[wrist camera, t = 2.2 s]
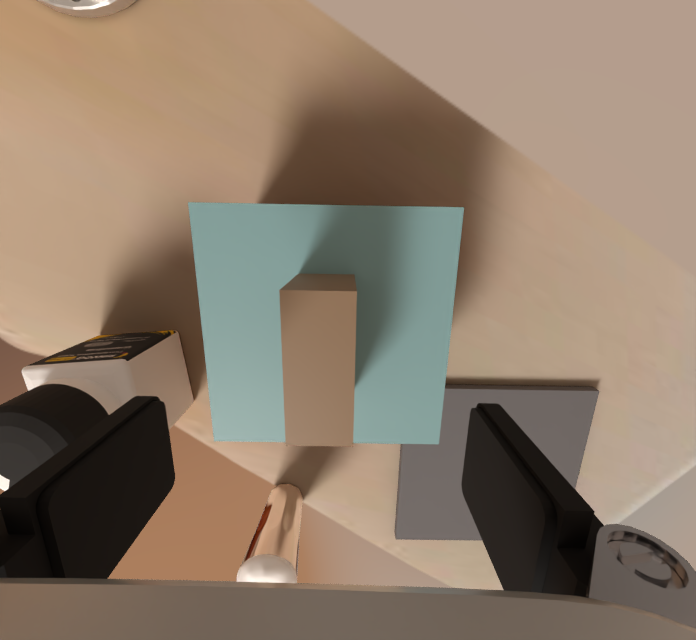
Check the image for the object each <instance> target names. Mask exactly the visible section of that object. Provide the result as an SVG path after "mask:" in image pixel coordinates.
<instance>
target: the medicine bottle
mask: <svg viewBox="0 0 696 640" xmlns="http://www.w3.org/2000/svg"><path fill="white" fill-rule="evenodd" d="M22 375H23V377H24V380H25V383H26V385H27V388H28V391H27V392H25V393H24V394H21V395H19V396H18V397H15V398H13V399H12V400H9V401H8V402H6V403H3V404H1V405H0V489H2V490H4V491H6V490H7V489H9V488H10V487H11V486H13V485H14V484H15V483H17V482H18V481H20V480H21V479H22V478H24V477H25V476H26V475H28V474H29V473H31V472H32V471H33V470H35V469H36V468H37V467H39V466H40V465H41V464H43V463H44V462H46V461H47V460H48V459H50V458H51V457H52V456H54V455H55V454H57V453H58V452H59V451H61V450H62V449H63V448H65V447H66V446H67V445H69V444H70V443H72V442H73V441H74V440H76V439H77V438H78V437H80V436H81V435H83V434H84V433H85V432H87V431H88V430H89V429H91V428H92V427H93V426H95V425H96V424H98V423H99V422H100V421H102V420H103V419H104V418H106V417H107V416H109V415H110V414H111V413H113V412H114V411H115V410H117V409H118V408H119V407H121V406H122V405H124V404H125V403H126V402H128V401H129V400H130V399H132V398H133V397H135V396H157V397H159V399H160V401H163V402H164V403H165V407H166V414H167V421H168V428H169V429H170V428H171V427H172V426H173V425H174V424H175V423H176V422H177V420H178V419H179V418H180V417H181V416H182V415H183V414H184V413H185V412H186V410H187V409H188V408H189V407H190V406H191V405H192V404H193V402H194V399H193V395H192V390H191V386H190V381H189V377H188V373H187V368H186V364H185V359H184V355H183V351H182V346H181V342H180V337H179V333H178V332H177V331H176V330H169V331H155V332H141V333H128V334H114V335H101V336H97V337H94V338H92V339H90V340H87V341H85V342H82V343H80V344H78V345H75V346H73V347H71V348H68V349H66V350H63V351H61V352H59V353H56V354H54V355H52V356H49V357H47V358H44V359H42V360H40V361H38V362H35V363H33V364H30V365H28V366H25V367H24V368H23V369H22Z"/></svg>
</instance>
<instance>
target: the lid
mask: <svg viewBox="0 0 696 640" xmlns="http://www.w3.org/2000/svg"><path fill="white" fill-rule="evenodd" d="M188 206H189V215H190V224H191V233H192V242H193V252H194V261H195V270H196V279H197V288H198V298H199V307H200V316H201V325H202V334H203V343H204V353H205V362H206V371H207V380H208V389H209V398H210V408H211V417H212V426H213V435H214V441H243V442H286V446H345V447H353V443H381V444H439V438H440V428H441V419H442V410H443V400H444V391H445V382H446V372H447V363H448V354H449V344H450V335H451V325H452V316H453V307H454V297H455V288H456V279H457V269H458V260H459V251H460V241H461V232H462V223H463V213H464V207H419V206H362V205H306V204H250V203H194V202H188Z"/></svg>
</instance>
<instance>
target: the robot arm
mask: <svg viewBox="0 0 696 640" xmlns="http://www.w3.org/2000/svg"><path fill="white" fill-rule="evenodd" d="M37 1H38V2H40V3H42V4H44V5H46V6H48V7H50V8H52V9H54V10H55V11H58V12H61V13H65V14H68V15H71V16H75V17H88V18H96V17H102V16H108V15H112V14H114V13H117V12H119V11H121V10H124V9H126V8H127V7H129V6H130V5H131V4H133V3H134V2H135V1H137V0H37ZM174 481H175V472H174V465H173V458H172V451H171V443H170V436H169V428H168V421H167V414H166V407H165V403H164V402H163V401H160V399H159V397H157V396H135V397H133V398H132V399H130V400H129V401H128V402H126V403H125V404H124V405H122V406H121V407H119V408H118V409H117V410H115V411H114V412H113V413H111V414H110V415H109V416H107V417H106V418H104V419H103V420H102V421H100V422H99V423H98V424H96V425H95V426H93V427H92V428H91V429H89V430H88V431H87V432H85V433H84V434H83V435H81V436H80V437H78V438H77V439H76V440H74V441H73V442H72V443H70V444H69V445H67V446H66V447H65V448H63V449H62V450H61V451H59V452H58V453H57V454H55V455H54V456H52V457H51V458H50V459H48V460H47V461H46V462H44V463H43V464H41V465H40V466H39V467H37V468H36V469H35V470H33V471H32V472H31V473H29V474H28V475H26V476H25V477H24V478H22V479H21V480H20V481H18V482H17V483H15V484H14V485H13V486H11V487H10V488H9V489H7V490H6V491H5V492H3V493H2V494H0V640H696V571H695V570H694V569H693V568H692V566H691V565H690V564H689V563H688V561H687V560H685V559H684V558H683V557H682V556H681V555H680V554H679V553H678V552H677V551H675V550H674V549H673V548H671V547H670V546H668V545H667V544H665V543H664V542H663V541H661V540H660V539H657V538H656V537H654V536H652V535H650V534H648V533H646V532H644V531H641V530H638V529H636V528H633V527H630V526H625V525H620V524H609V525H605V526H604V525H603V524H602V523H601V522H600V521H599V519H598V518H597V517H596V516H595V515H594V510H593V509H592V508H591V507H590V506H589V505H588V504H587V503H586V501H585V500H584V499H583V498H582V497H581V496H580V495H579V494H578V492H577V491H576V490H575V489H574V488H573V487H572V486H571V484H570V483H569V482H568V481H567V480H566V479H565V478H564V477H563V475H562V474H561V473H560V472H559V471H558V470H557V469H556V468H555V466H554V465H553V464H552V463H551V462H550V461H549V460H548V458H547V457H546V456H545V455H544V454H543V453H542V452H541V451H540V449H539V448H538V447H537V446H536V445H535V444H534V443H533V441H532V440H531V439H530V438H529V437H528V436H527V435H526V434H525V432H524V431H523V430H522V429H521V428H520V427H519V426H518V425H517V423H516V422H515V421H514V420H513V419H512V418H511V417H510V415H509V414H508V413H507V412H506V411H505V410H504V409H503V408H502V406H501V405H499V404H497V403H478V404H477V406H476V408H472V409H471V411H470V418H469V426H468V434H467V442H466V450H465V458H464V466H463V474H462V484H461V485H462V493H463V496H464V499H465V501H466V503H467V506H468V508H469V510H470V513H471V515H472V517H473V519H474V522H475V524H476V526H477V529H478V531H479V533H480V536H481V538H482V540H483V543H484V545H485V547H486V550H487V552H488V554H489V557H490V559H491V561H492V564H493V566H494V568H495V571H496V573H497V575H498V578H499V580H500V582H501V585H502V587H503V589H504V590H482V589H462V588H434V587H405V586H374V585H373V586H372V585H343V584H308V583H271V582H230V581H191V580H189V581H188V580H139V579H137V580H136V579H107V578H108V577H109V575H110V574H111V573H112V571H113V570H114V568H115V567H116V566H117V564H118V562H119V561H120V560H121V559H122V557H123V556H124V555H125V553H126V552H127V550H128V549H129V548H130V546H131V545H132V543H133V542H134V541H135V539H136V538H137V536H138V535H139V534H140V532H141V531H142V529H143V528H144V527H145V525H146V524H147V522H148V521H149V520H150V518H151V517H152V516H153V514H154V513H155V511H156V510H157V509H158V507H159V506H160V504H161V503H162V502H163V500H164V499H165V497H166V496H167V495H168V493H169V492H170V490H171V489H172V487H173V485H174Z"/></svg>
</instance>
